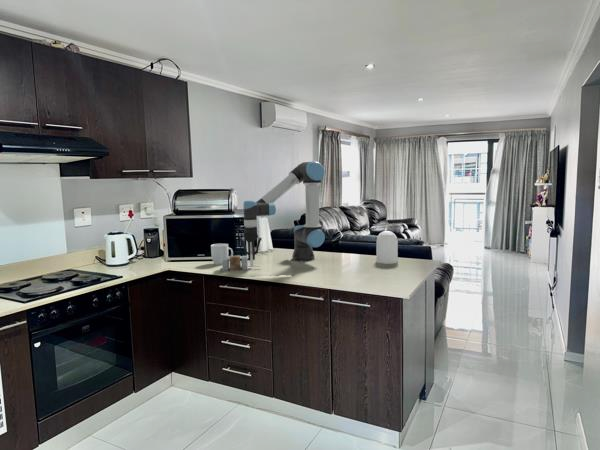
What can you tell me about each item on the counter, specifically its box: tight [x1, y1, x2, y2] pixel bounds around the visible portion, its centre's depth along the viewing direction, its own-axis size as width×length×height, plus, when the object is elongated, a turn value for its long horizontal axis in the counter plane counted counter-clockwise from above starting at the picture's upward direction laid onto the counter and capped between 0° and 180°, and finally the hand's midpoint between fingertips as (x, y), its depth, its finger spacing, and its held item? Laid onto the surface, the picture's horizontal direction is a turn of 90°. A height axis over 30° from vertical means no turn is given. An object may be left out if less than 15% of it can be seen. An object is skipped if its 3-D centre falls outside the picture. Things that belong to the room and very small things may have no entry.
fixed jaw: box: [221, 256, 230, 272], centre depth 248 cm, size 3×8×7 cm, turn 6°
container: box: [375, 230, 399, 265], centre depth 265 cm, size 14×13×20 cm
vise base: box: [218, 265, 261, 274], centre depth 249 cm, size 25×12×2 cm, turn 96°
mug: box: [210, 243, 234, 266], centre depth 268 cm, size 15×11×13 cm
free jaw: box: [240, 255, 249, 271], centre depth 249 cm, size 3×8×7 cm, turn 6°
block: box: [229, 254, 242, 271], centre depth 248 cm, size 6×6×8 cm
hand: (251, 265), depth 249 cm, fingers closed
